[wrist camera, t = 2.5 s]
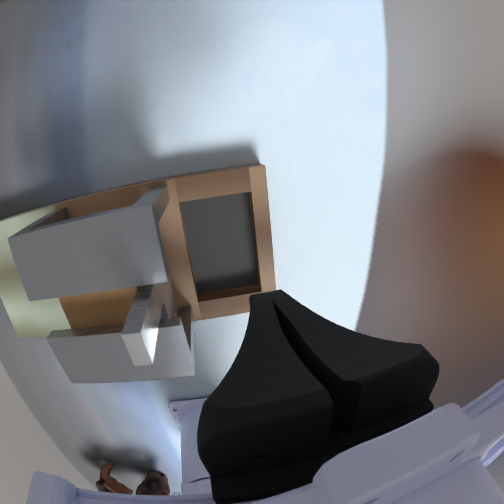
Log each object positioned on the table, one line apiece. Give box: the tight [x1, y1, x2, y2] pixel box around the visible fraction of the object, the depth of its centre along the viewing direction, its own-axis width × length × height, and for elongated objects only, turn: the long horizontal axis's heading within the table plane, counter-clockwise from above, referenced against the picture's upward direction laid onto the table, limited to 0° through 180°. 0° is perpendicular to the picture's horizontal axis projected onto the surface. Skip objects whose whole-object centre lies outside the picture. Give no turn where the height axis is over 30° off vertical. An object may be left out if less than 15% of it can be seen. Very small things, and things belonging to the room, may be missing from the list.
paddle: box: [121, 223, 176, 366], centre depth 14 cm, size 6×1×9 cm, turn 6°
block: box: [58, 286, 138, 329], centre depth 16 cm, size 5×5×4 cm
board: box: [0, 164, 276, 338], centre depth 19 cm, size 10×22×2 cm, turn 96°
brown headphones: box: [96, 461, 170, 495], centre depth 28 cm, size 12×9×8 cm
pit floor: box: [180, 192, 259, 294], centre depth 20 cm, size 7×4×1 cm, turn 6°
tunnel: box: [7, 185, 195, 383], centre depth 15 cm, size 9×8×6 cm
